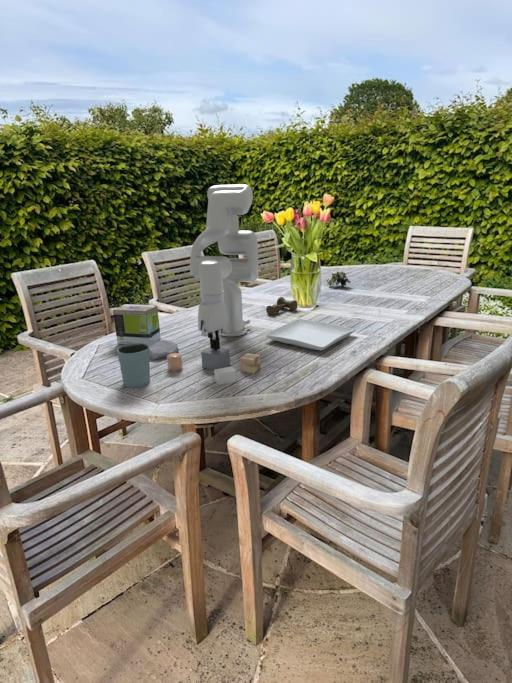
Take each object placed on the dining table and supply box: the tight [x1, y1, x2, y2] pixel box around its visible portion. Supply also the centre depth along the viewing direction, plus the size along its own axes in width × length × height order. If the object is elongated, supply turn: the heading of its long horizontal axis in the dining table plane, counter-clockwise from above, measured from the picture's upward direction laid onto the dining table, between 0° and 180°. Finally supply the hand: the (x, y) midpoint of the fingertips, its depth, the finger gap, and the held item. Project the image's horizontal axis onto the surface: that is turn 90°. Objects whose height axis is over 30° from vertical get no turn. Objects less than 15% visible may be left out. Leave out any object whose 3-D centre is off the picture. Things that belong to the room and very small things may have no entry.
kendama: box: [265, 296, 298, 316], centre depth 227 cm, size 6×10×20 cm
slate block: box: [200, 346, 231, 371], centre depth 162 cm, size 7×7×6 cm
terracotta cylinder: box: [166, 352, 184, 373], centre depth 161 cm, size 5×5×5 cm
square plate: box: [264, 318, 356, 351], centre depth 187 cm, size 27×27×4 cm
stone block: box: [149, 339, 180, 360], centre depth 175 cm, size 12×5×10 cm
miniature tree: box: [326, 271, 351, 289], centre depth 272 cm, size 11×11×12 cm
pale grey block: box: [213, 366, 237, 386], centre depth 150 cm, size 6×4×4 cm, turn 112°
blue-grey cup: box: [116, 343, 151, 389], centre depth 150 cm, size 10×10×12 cm
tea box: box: [112, 303, 161, 346], centre depth 188 cm, size 15×10×15 cm, turn 74°
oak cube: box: [239, 352, 261, 374], centre depth 158 cm, size 5×5×5 cm
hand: (215, 348), depth 161 cm, fingers closed
